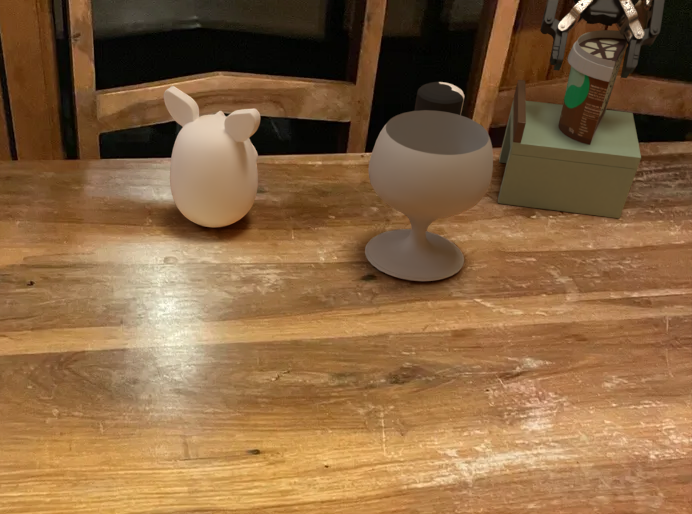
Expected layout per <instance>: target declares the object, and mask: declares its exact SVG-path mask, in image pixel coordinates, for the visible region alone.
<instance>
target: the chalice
mask: <svg viewBox="0 0 692 514" xmlns="http://www.w3.org/2000/svg"><path fill="white" fill-rule="evenodd" d="M493 169H494V149H493V145H492V140H491V137H490V135H489V132H488V130H487V129H486V128H485V127H484V126H483V125H482V124H480V123H479V122H477V121H475V120H473V119H471V118H470V117H467V116H463V115H462V114H461V115H458V114H453V113H449V112H442V111H429V110H423V111H414V110H412V111H407V112H402V113H400V114H399V113H398V114H397V115H395V116H393V117H391V118H390V119H389V120H388V121H387V122H386V123H385V124H384V125H383V127H382V129H381V130H380V132H379V134H378V136H377V138H376V140H375V143H374V146H373V149H372V151H371V154H370V158H369V160H368V169H367V170H368V180H369V183H370V185H371V187H372V189H373V191H374V193H375V194H376V196H377V197H378V198H379V199H380V200H381V201H382V202H383V203H385V204H386V205H388V206H389V207H390V208H392V209H394V210H395V211H398V212H399V213H401V214H403V215H405V216H406V218H407V219H408V220H409V223H410V228H398V229H397V228H396V229H391V230H387V231H384V232H381V233H379V234H377V235H375V236H373V237H372V238H371V239H369V241H367V243H366V245H365V247H364V255H365V257H366V259H367V261H368V262H369V263H370V264H371V265H372V266H373V267H375V268H376V269H377V270H378V271H380V272H382V273H385V275H389V276H391V277H394V278H397V279H402V280H406V281H415V282H431V281H432V282H434V281H440V280H444V279H447V278H450V277H452V276H453V275H455V274H457V273H459V271H460V270H461V269H462V268H463V266H464V263H465V258H464V254H463V251H461V249H460V248H459V247H458V246H457V244H455V242H453V241H451V240H449V239H448V238H447V237H444V236H443V235H441V234H438V233H435V232H432V231H428V228H429V227H430V226H431V224H432V223H434V222H435V221H437V220H439V219H445V218H449V217H453V216H454V217H455V216H457V215H460V214H463V213H465V212H467V211H469V210H470V209H472V208H474V207H475V206H476V205H477V204H479V203H480V201H482V199H483V198H484V197H485V196H486V194H487V193H488V191H489V189H490V186H491V183H492V177H493Z"/></svg>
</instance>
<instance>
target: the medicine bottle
mask: <svg viewBox="0 0 692 514" xmlns="http://www.w3.org/2000/svg"><path fill="white" fill-rule="evenodd" d="M464 101H465V94H464V91H463V90H462V89H461V88H460V87H459V86H457V85H454V84H453V83H449V82H443V81H432V82H428V83H425V84H422V85H421V86H420V87H419V88H418V89H417V92H416V98H415V104H414V110H413V111H423V110H429V111H442V112H449V113H453V114H458V115H461V116H462V111H463V106H464Z"/></svg>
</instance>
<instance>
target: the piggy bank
mask: <svg viewBox="0 0 692 514" xmlns="http://www.w3.org/2000/svg"><path fill="white" fill-rule="evenodd" d="M163 102H164V105H165V108H166V110H167V112H168V113H169V115H170V117H171V118H172V119H173V120H174V122H175V123H177V124H178V125H180V126H181V127H182V128H181V129H180V130H179V132H178V134H177V135H176V137H175V141H174V144H173V147H172V152H171V157H170V163H169V165H170V166H169V186H170V192H171V196H172V200H173V203H174V204H175V206H176V208H177V210H178V211H179V212H180V213H181V215H183V217H185V218H186V219H187V220H189V221H190V222H192V223H194V224H195V225H198V226H201V227H207V228H224V227H227V226H230V225H232V224H235V223H236V222H239V221H240V220H241V219H243V218H244V217H246V215H247V214H248V212H250V210H251V209H252V208H253V205H254V203H255V200H256V197H257V194H258V189H259V174H258V173H259V172H258V171H259V170H258V165H257V163H258V160H259V154H258V151H257V150H256V147H255V146H254V145H253V143H252V140H251V139H250V138H251V137H252V136H253V135H254V134H255V133H256V132H257V131H258V129H259V127H260V124H261V114H260V111H259V110H258V109H257V108H242V109H236V110H234V111H232V112H231V113H229V114H228V115H227V116H226V115H225V113H224V111H222V110H219V111H217V112H216V113H214V114H213V113H211V114H204V115H200V108H199V105H198V103H197V101H196V100H195V99H194V98H192V96H190V95H189V94H187V93H186V92H185V91H182V90H181V89H179V88H177V87H176V86H174V85H171V86H170V87H169V88H167V89H165V90H164V92H163Z"/></svg>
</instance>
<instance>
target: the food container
mask: <svg viewBox="0 0 692 514" xmlns="http://www.w3.org/2000/svg"><path fill="white" fill-rule="evenodd" d="M627 46H628V43H627V41H626V39H625V37H624V36H623V35H621V34H620V31H619V30H614V29H602V30H593V31H588V32H585V33H583V34H581V35H579V37H577V40H576V41H575V42H574V43H573V45H572V47H571V49H570V51H569V53H568V55H567V62H568V64H569V65H570V69H569V75H568V79H567V83H566V88H565V93H564V97H563V102H562V105H563V106H562V111H561V116H560V121H559V129H560V131H561V132H562V133H563V134H564V135H566V136H567V137H569V138H571V139H573V140H576V141H578V142H581V143H585V144H589V145H590V144H591V142H592V140H593V138H594V136H595V134H596V132H597V130H598V128H599V126H600V124H601V122H602V120H603V117H604V114H605V111H606V110H607V108H608V105H609V102H610V99H611V95H612V92H613V89H614V86H615V84H616V80H617V77H618V74H619V70H620V67H621V64H622V61H623V59H624V56H625V51H626V48H627Z"/></svg>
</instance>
